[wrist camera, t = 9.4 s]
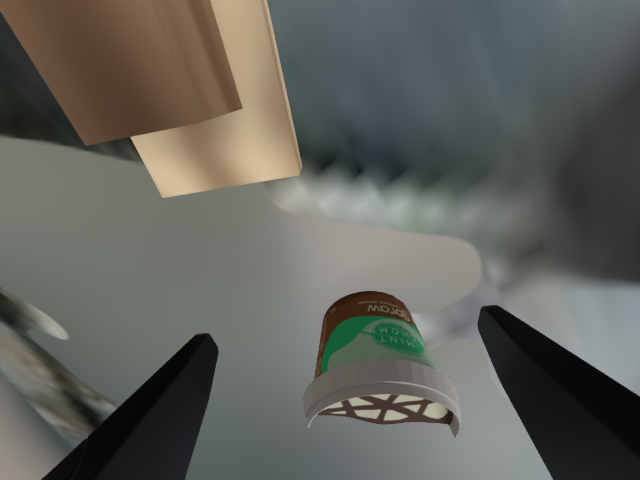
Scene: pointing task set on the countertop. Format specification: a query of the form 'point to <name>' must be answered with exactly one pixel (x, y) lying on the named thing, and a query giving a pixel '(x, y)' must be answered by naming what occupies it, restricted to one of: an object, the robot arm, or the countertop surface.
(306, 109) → the countertop surface
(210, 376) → the robot arm
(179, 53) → the walnut block
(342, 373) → the food container
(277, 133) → the oak base
